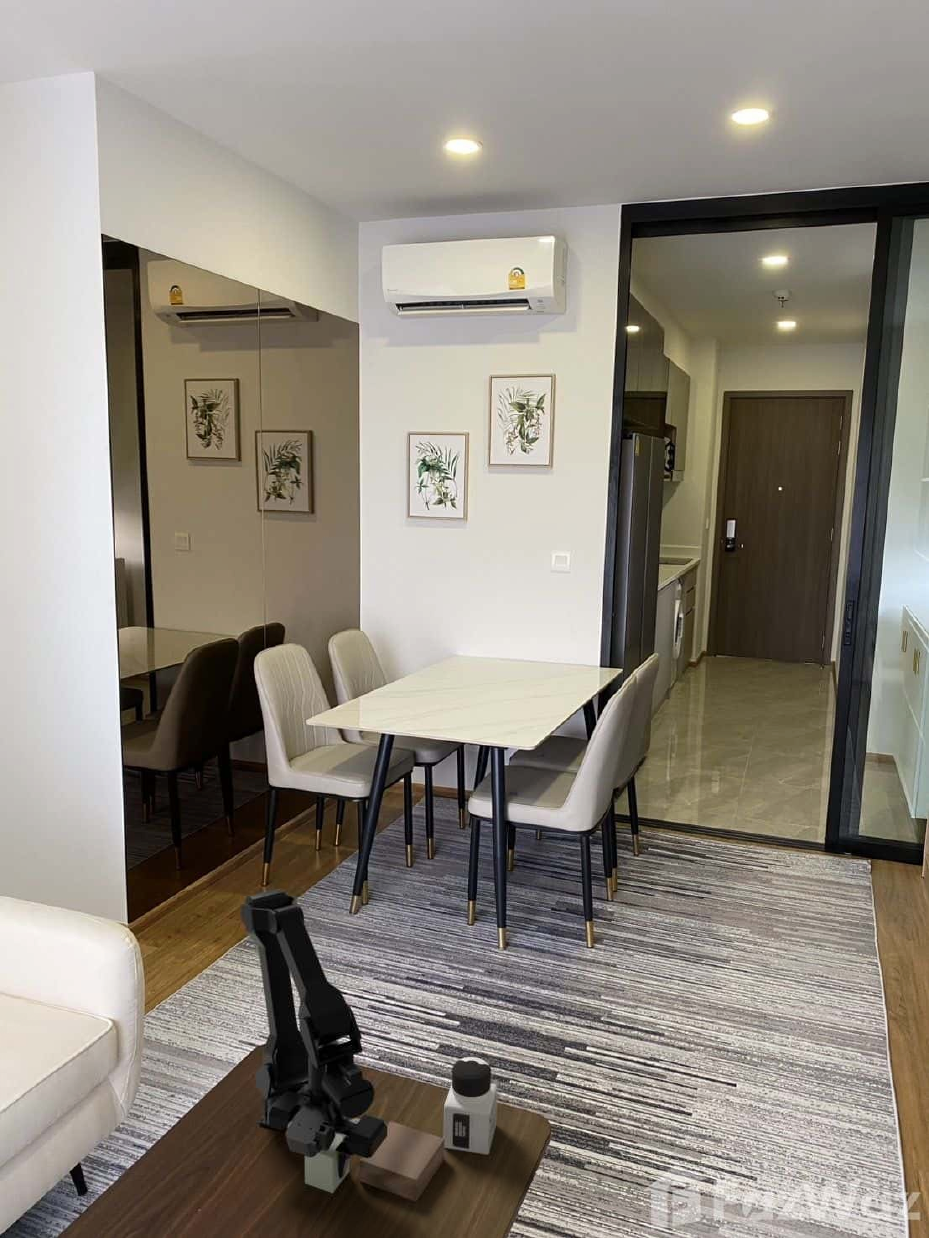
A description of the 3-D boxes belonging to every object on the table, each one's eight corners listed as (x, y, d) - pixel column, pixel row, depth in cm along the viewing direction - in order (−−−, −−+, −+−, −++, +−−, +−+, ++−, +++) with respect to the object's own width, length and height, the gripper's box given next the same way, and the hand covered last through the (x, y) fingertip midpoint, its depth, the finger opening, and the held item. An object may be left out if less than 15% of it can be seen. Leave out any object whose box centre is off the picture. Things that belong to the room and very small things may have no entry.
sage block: (304, 1183, 145) (304, 1148, 144) (321, 1162, 149) (321, 1128, 148) (332, 1193, 143) (332, 1157, 142) (348, 1171, 147) (348, 1137, 146)
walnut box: (359, 1182, 145) (359, 1159, 145) (390, 1142, 155) (390, 1120, 154) (416, 1203, 141) (416, 1179, 141) (444, 1161, 150) (444, 1138, 150)
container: (488, 1155, 151) (490, 1082, 150) (442, 1148, 153) (443, 1076, 151) (496, 1124, 159) (498, 1054, 157) (452, 1117, 160) (453, 1048, 159)
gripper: (245, 1094, 140) (247, 1188, 142) (353, 1129, 133) (353, 1227, 135) (287, 1054, 150) (288, 1142, 152) (389, 1084, 143) (388, 1176, 145)
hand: (327, 1171), depth 146 cm, fingers closed on sage block, 5 cm apart
